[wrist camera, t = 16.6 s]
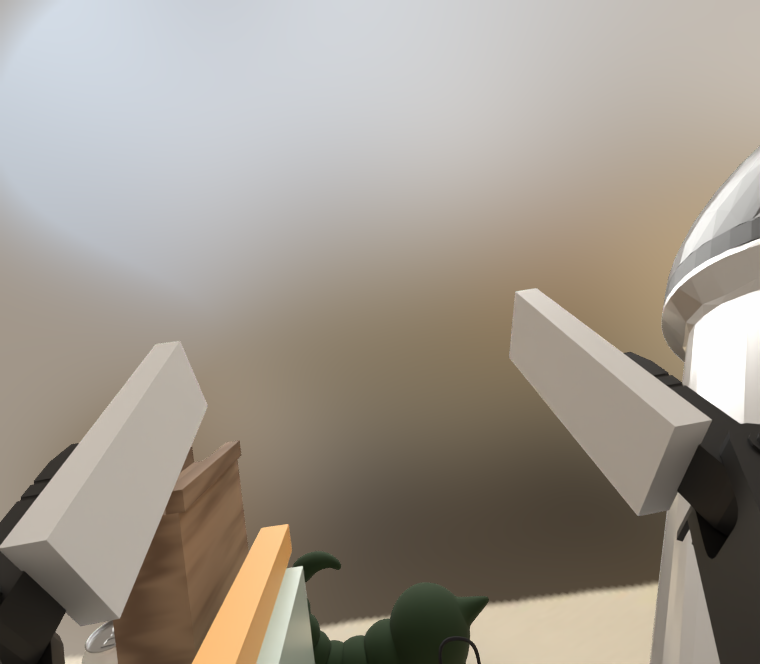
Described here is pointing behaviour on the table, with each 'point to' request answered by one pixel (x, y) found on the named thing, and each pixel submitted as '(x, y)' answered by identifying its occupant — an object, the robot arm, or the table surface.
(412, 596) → the toy figurine
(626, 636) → the table surface
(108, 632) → the can
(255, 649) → the hollow square tube
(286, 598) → the block
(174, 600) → the walnut stand
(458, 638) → the multimeter
